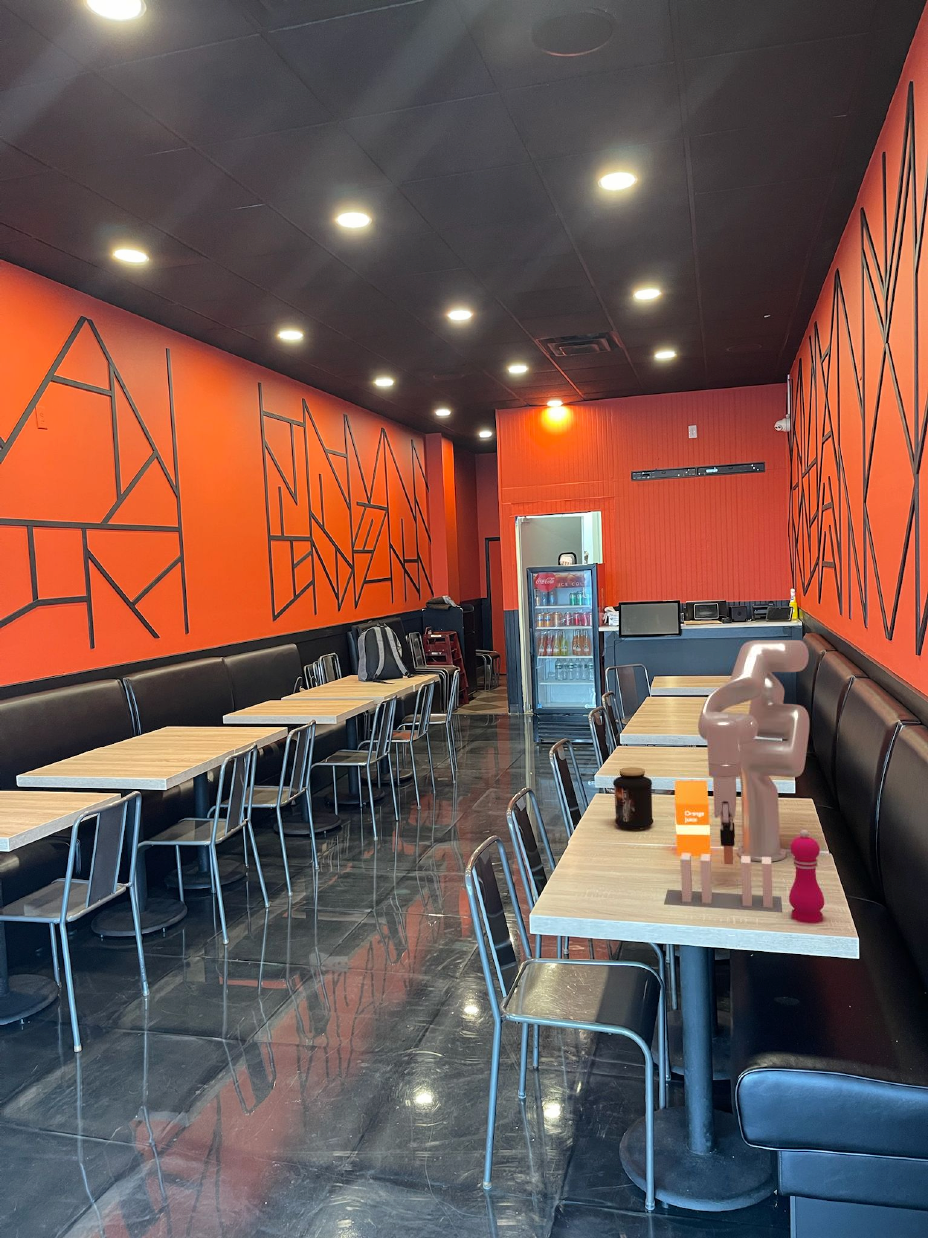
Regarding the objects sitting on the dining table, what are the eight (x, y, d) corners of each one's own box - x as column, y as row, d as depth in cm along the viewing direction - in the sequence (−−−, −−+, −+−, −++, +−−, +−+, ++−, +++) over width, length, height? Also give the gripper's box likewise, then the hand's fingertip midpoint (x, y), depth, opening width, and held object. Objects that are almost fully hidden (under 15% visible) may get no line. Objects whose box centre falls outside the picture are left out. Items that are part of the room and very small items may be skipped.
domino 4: (742, 905, 200) (741, 862, 199) (742, 898, 204) (741, 855, 204) (751, 906, 199) (750, 863, 199) (751, 898, 204) (750, 856, 203)
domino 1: (682, 901, 204) (680, 859, 203) (683, 894, 208) (682, 852, 208) (691, 902, 203) (689, 859, 203) (692, 894, 208) (690, 853, 208)
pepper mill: (816, 913, 195) (813, 824, 194) (830, 925, 188) (828, 833, 187) (784, 915, 195) (781, 826, 194) (797, 927, 187) (794, 835, 187)
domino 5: (763, 907, 198) (762, 863, 198) (763, 899, 203) (761, 856, 202) (772, 907, 197) (771, 864, 197) (772, 900, 202) (770, 857, 202)
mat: (667, 892, 212) (667, 889, 212) (781, 899, 204) (781, 896, 204) (663, 906, 203) (663, 904, 203) (782, 915, 194) (782, 912, 194)
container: (658, 831, 263) (654, 772, 262) (618, 833, 263) (614, 774, 263) (650, 821, 275) (647, 764, 275) (612, 823, 275) (609, 767, 275)
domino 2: (702, 903, 202) (700, 860, 202) (703, 895, 207) (701, 853, 207) (711, 903, 202) (709, 861, 201) (711, 896, 206) (710, 854, 206)
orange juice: (710, 856, 237) (708, 783, 237) (677, 856, 239) (674, 783, 239) (708, 848, 245) (706, 777, 244) (676, 847, 247) (673, 777, 246)
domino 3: (724, 864, 213) (722, 824, 212) (724, 857, 218) (723, 818, 217) (732, 864, 212) (731, 824, 212) (733, 857, 217) (731, 818, 216)
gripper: (710, 760, 223) (713, 830, 224) (707, 777, 207) (710, 853, 208) (740, 761, 220) (744, 831, 222) (740, 778, 204) (743, 854, 205)
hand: (727, 841), depth 215 cm, fingers closed on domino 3, 4 cm apart
